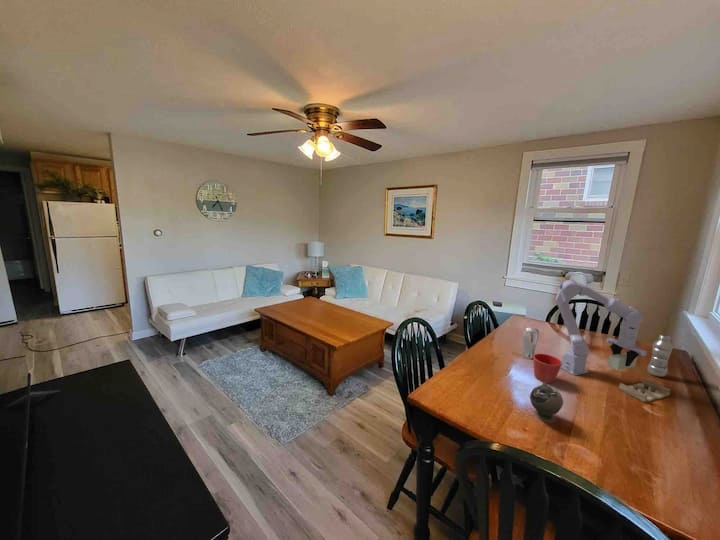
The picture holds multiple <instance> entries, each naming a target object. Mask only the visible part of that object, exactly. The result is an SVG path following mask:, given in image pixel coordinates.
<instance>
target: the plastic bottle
mask: <svg viewBox="0 0 720 540" xmlns="http://www.w3.org/2000/svg"><path fill="white" fill-rule="evenodd" d="M671 340H672V336H670V335H668V334H664V333H660V334H659V336H658V339H656V340H655V341H653V343H652V353H651V354H652V355H651V359H650V361H649V363H648V364H647V372H648V373H649V374H650V375H652V376H655V377H659V378H664V377H666V376H667V374H668V363H669V359H670V356H671V353H672V351H673V349H674V348H673V344H672V343H671V342H670V341H671Z"/></svg>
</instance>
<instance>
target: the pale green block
mask: <svg viewBox="0 0 720 540" xmlns="http://www.w3.org/2000/svg"><path fill="white" fill-rule="evenodd" d="M626 359H627V354H626V352H623V353H622V352H621V353H620V354H616V355H613V354H611V355H609V356H608V360H607V361H608V362H607V367H610V368H611V369H614V370H615V371H621V370H625V369H631V368H635V367H636V365H637V360H638V356H637V357H636V358H635V359H634V360H633V362H632V363H631V365H630V366H625V364H626Z"/></svg>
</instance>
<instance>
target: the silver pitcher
mask: <svg viewBox="0 0 720 540" xmlns="http://www.w3.org/2000/svg"><path fill="white" fill-rule="evenodd" d="M539 336H540V330H539V329H537V328H535V327H530V326H528V327H524V329H523V335H522V351H521V356H522V357H523V358H524V359H525V358H526V359H528V360H533V356H534V355H535V351H536V347H537V345H538V342H539Z"/></svg>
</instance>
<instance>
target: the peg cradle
mask: <svg viewBox="0 0 720 540" xmlns="http://www.w3.org/2000/svg"><path fill="white" fill-rule="evenodd" d="M618 390H619V391H620V392H622V393H624V394H627V395H628V396H629V397H633V398H635V399H636V400H639V401H640V402H642V403H645V404H646V403H648V402H651V401H655V400H660V399H663V398H667V397H670V394H671V388H668V387H665V386H663V385H661V384H659V383H656V382H655V381H652V380H649V379H648V378H646V377H644V378H642V381H641V382H640V383H636V384H631V385H626V384H624V383H622V382H620V383H619V387H618Z"/></svg>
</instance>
